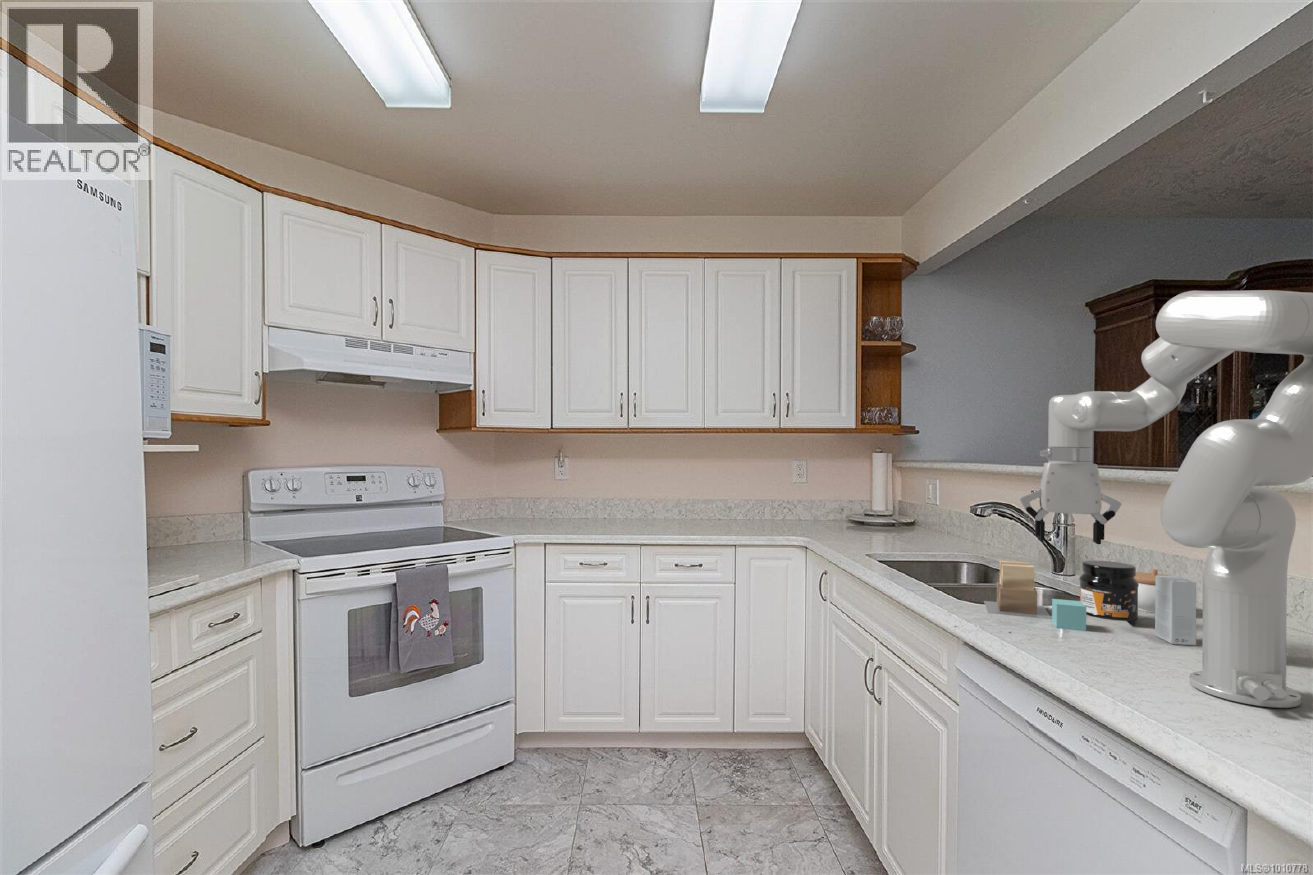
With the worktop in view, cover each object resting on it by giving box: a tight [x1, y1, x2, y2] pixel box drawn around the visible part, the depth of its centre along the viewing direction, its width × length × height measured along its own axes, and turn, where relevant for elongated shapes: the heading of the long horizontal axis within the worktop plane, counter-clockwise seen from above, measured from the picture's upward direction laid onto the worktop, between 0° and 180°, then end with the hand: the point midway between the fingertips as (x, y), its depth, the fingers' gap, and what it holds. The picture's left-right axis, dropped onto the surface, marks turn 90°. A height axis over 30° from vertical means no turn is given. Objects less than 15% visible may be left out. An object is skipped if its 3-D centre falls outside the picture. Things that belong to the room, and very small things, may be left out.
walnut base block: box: [996, 581, 1038, 615], centre depth 145 cm, size 7×7×5 cm
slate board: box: [983, 600, 1052, 620], centre depth 145 cm, size 12×12×1 cm
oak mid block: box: [999, 560, 1035, 591], centre depth 145 cm, size 6×6×5 cm
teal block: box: [1051, 598, 1087, 632], centre depth 131 cm, size 5×5×6 cm
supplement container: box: [1079, 559, 1139, 626], centre depth 142 cm, size 10×10×12 cm
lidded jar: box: [1134, 568, 1171, 614], centre depth 150 cm, size 11×11×9 cm
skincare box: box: [1154, 575, 1197, 646], centre depth 127 cm, size 6×4×12 cm
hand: (1068, 541), depth 132 cm, fingers open, 9 cm apart
